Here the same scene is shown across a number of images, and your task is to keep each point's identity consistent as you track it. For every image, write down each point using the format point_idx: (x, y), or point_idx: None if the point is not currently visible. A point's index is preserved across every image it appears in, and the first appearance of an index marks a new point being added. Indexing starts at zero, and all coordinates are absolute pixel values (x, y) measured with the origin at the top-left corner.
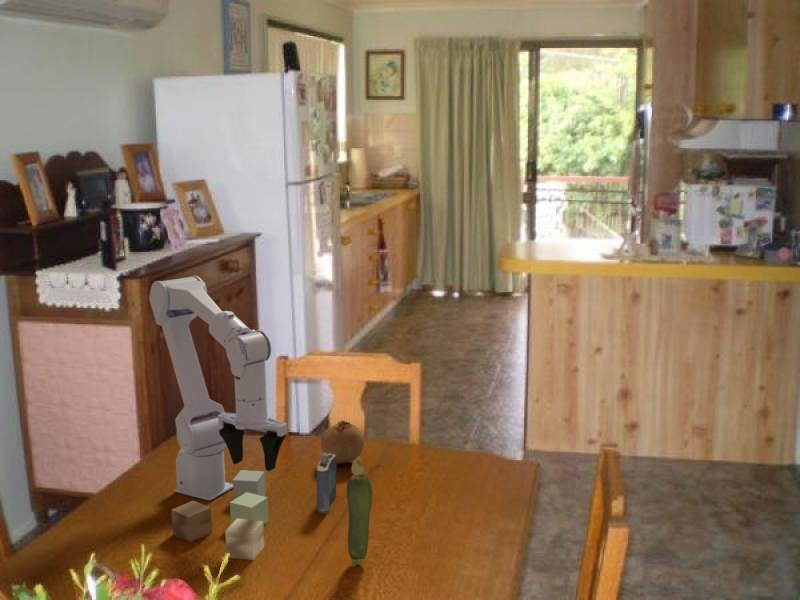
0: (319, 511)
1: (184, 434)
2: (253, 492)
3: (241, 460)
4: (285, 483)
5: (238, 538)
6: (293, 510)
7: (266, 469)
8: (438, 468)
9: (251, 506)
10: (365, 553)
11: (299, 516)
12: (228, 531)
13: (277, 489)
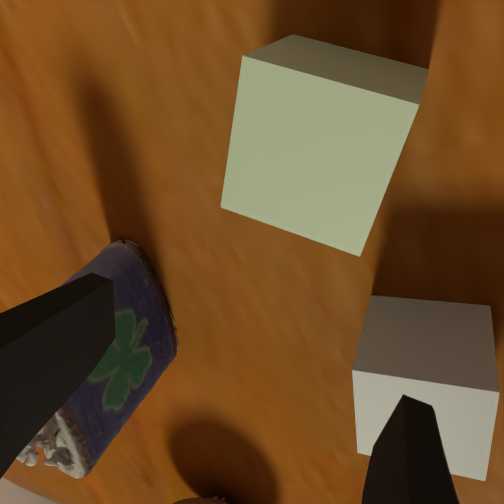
0: (126, 244)
1: None
2: (382, 332)
3: (375, 445)
4: (332, 432)
5: None
6: (221, 257)
7: (98, 281)
8: (40, 448)
9: (251, 74)
10: None
11: (180, 216)
12: None
13: (342, 399)
